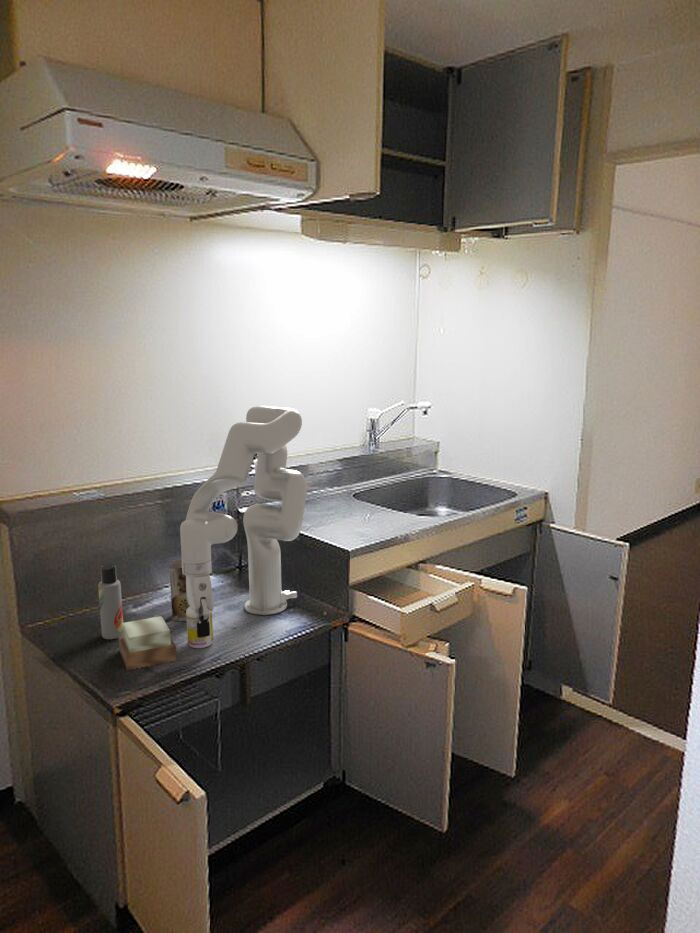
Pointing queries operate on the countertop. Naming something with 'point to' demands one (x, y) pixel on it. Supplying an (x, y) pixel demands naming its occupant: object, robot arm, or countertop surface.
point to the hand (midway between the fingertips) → (199, 630)
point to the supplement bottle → (192, 629)
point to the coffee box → (178, 592)
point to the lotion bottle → (110, 603)
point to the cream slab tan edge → (146, 643)
